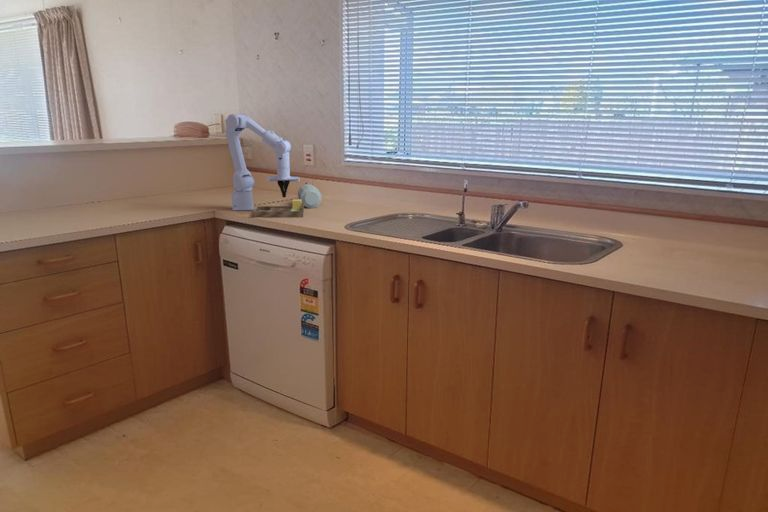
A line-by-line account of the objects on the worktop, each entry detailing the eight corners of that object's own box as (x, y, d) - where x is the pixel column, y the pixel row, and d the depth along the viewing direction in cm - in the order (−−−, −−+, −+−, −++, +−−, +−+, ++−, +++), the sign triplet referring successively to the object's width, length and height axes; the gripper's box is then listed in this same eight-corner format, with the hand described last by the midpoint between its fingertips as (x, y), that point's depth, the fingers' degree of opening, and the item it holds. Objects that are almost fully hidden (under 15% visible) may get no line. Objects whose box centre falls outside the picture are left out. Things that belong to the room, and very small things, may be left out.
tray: (253, 217, 240) (253, 208, 239) (257, 211, 253) (256, 203, 252) (302, 217, 242) (302, 208, 241) (303, 211, 255) (303, 203, 254)
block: (292, 209, 249) (292, 201, 248) (293, 207, 253) (292, 199, 251) (301, 209, 249) (301, 200, 248) (301, 207, 253) (301, 199, 252)
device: (322, 208, 263) (321, 187, 261) (301, 209, 261) (300, 187, 258) (312, 198, 292) (312, 179, 290) (293, 199, 290) (293, 180, 287)
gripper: (266, 168, 242) (267, 198, 246) (298, 168, 244) (299, 198, 248) (267, 166, 249) (268, 195, 253) (299, 166, 251) (300, 195, 254)
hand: (284, 197), depth 251 cm, fingers closed
